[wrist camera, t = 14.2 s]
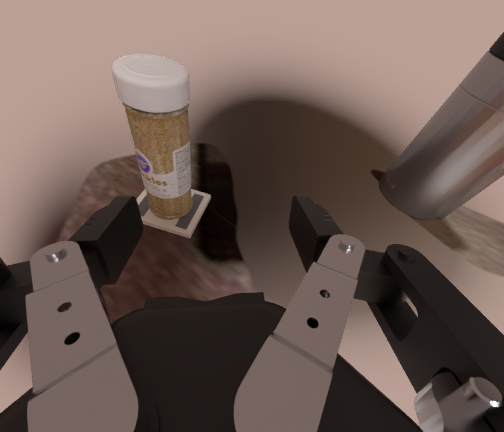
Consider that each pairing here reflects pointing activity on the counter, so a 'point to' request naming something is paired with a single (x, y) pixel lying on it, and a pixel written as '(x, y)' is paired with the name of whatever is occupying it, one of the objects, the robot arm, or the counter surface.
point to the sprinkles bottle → (158, 128)
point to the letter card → (177, 226)
